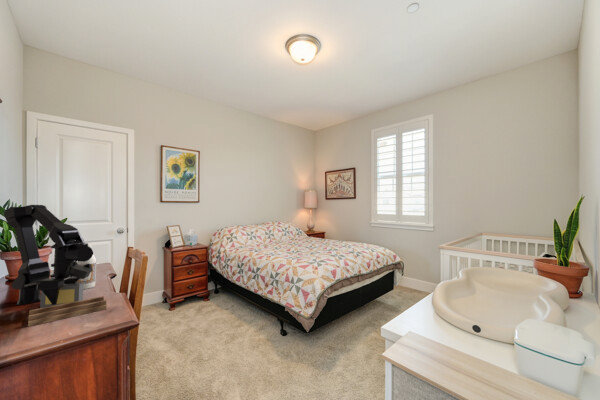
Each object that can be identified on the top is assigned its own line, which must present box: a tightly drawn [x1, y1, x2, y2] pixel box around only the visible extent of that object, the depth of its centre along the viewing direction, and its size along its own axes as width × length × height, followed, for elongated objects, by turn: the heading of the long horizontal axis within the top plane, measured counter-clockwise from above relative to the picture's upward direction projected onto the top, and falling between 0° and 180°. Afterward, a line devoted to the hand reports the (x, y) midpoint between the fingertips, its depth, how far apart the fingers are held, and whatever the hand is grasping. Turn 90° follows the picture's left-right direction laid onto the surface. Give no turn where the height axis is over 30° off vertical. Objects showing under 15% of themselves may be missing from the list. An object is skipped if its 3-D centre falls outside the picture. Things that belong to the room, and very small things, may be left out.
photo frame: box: [39, 283, 84, 308], centre depth 97 cm, size 12×3×8 cm, turn 106°
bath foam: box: [77, 244, 97, 290], centre depth 119 cm, size 7×7×20 cm
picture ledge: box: [27, 295, 107, 328], centre depth 89 cm, size 20×8×3 cm, turn 136°
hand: (62, 300), depth 97 cm, fingers open, 9 cm apart
